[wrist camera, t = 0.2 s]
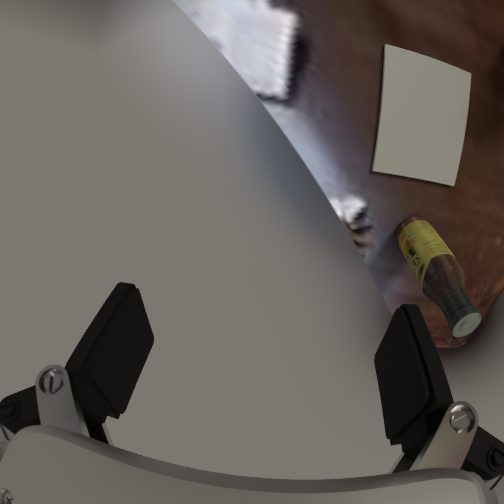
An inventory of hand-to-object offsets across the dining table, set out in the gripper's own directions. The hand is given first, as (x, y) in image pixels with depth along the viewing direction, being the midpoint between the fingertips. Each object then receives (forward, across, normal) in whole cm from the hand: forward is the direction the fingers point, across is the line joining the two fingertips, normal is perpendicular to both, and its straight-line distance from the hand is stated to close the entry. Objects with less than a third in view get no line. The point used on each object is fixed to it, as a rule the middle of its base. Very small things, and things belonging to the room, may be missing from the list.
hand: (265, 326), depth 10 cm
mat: (+31, -20, -7) cm, 37 cm away
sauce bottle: (+31, -22, +12) cm, 40 cm away
